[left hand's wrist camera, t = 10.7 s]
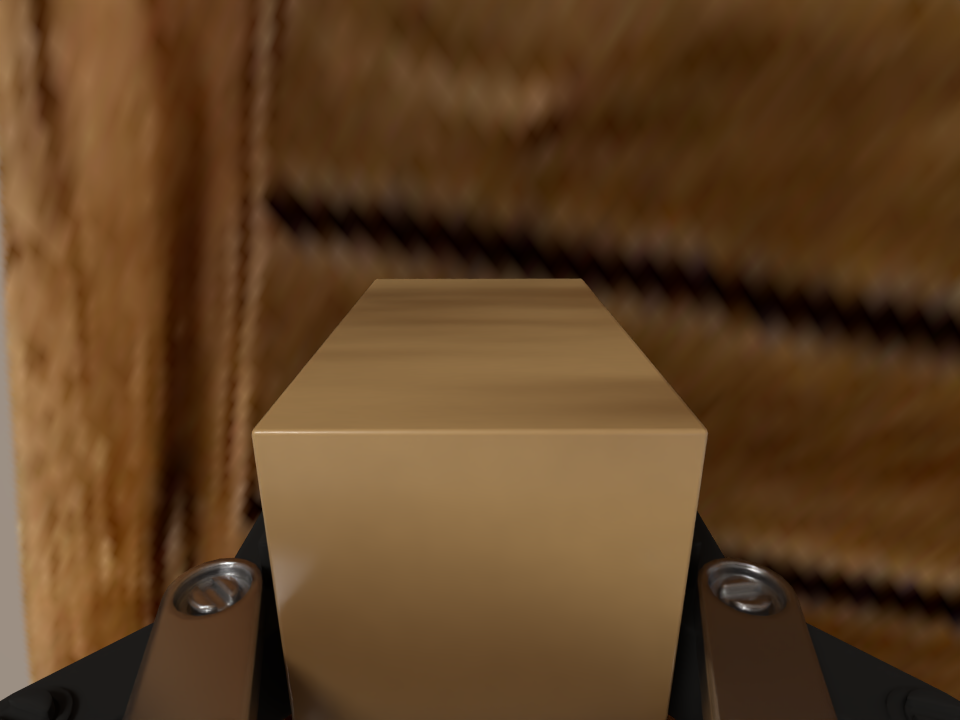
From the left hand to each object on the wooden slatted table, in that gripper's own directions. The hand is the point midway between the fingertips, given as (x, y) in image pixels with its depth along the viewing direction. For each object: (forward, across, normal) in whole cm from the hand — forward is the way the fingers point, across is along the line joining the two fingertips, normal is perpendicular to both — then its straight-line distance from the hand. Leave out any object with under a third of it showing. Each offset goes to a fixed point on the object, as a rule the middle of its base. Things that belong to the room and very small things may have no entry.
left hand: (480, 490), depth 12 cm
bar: (+2, 0, -30) cm, 31 cm away
